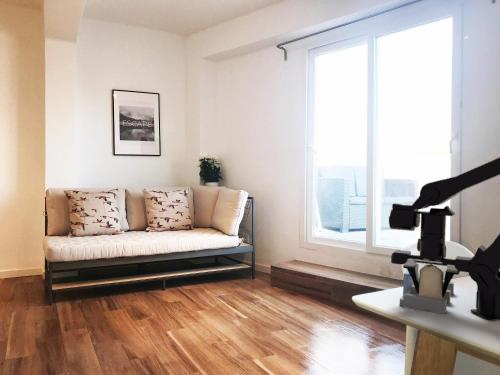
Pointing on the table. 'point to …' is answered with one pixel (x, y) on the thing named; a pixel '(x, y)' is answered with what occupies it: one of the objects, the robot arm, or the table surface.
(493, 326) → the table surface
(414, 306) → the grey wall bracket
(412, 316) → the table surface
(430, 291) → the candle
